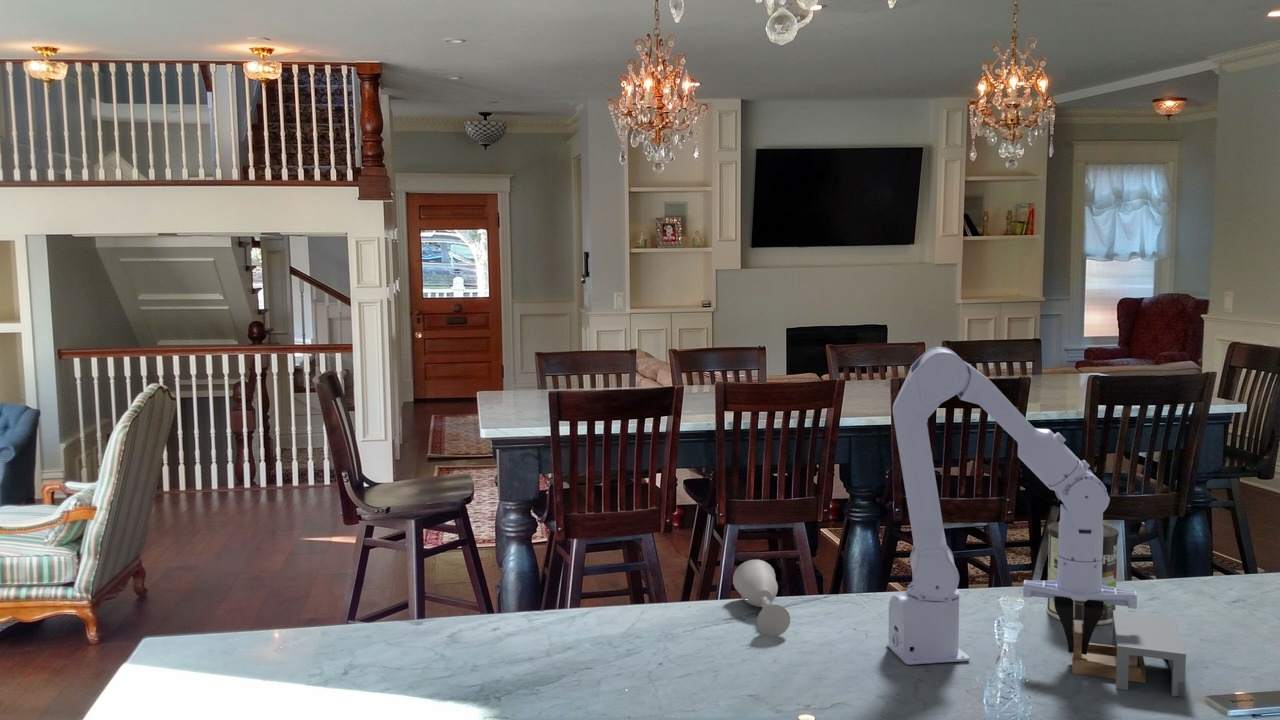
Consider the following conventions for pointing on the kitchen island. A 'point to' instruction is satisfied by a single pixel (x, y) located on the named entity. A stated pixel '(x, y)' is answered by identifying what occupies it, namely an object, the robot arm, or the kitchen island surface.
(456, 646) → the kitchen island surface
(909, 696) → the kitchen island surface
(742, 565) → the chalice
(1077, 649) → the tray
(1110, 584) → the coffee can
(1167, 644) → the shelf
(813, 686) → the kitchen island surface
